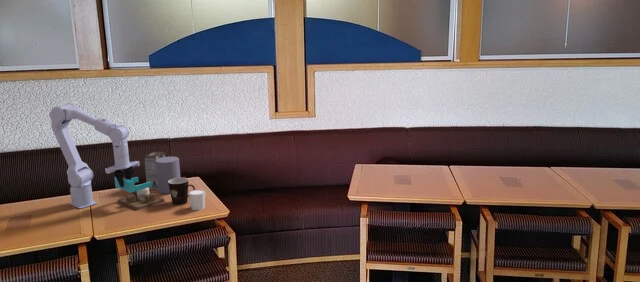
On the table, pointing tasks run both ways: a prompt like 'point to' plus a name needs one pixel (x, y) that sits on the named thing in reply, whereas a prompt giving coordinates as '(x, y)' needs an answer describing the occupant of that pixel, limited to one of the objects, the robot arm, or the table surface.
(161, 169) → the container
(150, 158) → the coffee box
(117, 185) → the teal c-shaped bracket
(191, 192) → the white cylinder
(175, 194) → the coffee mug
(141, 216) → the table surface
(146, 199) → the stand
